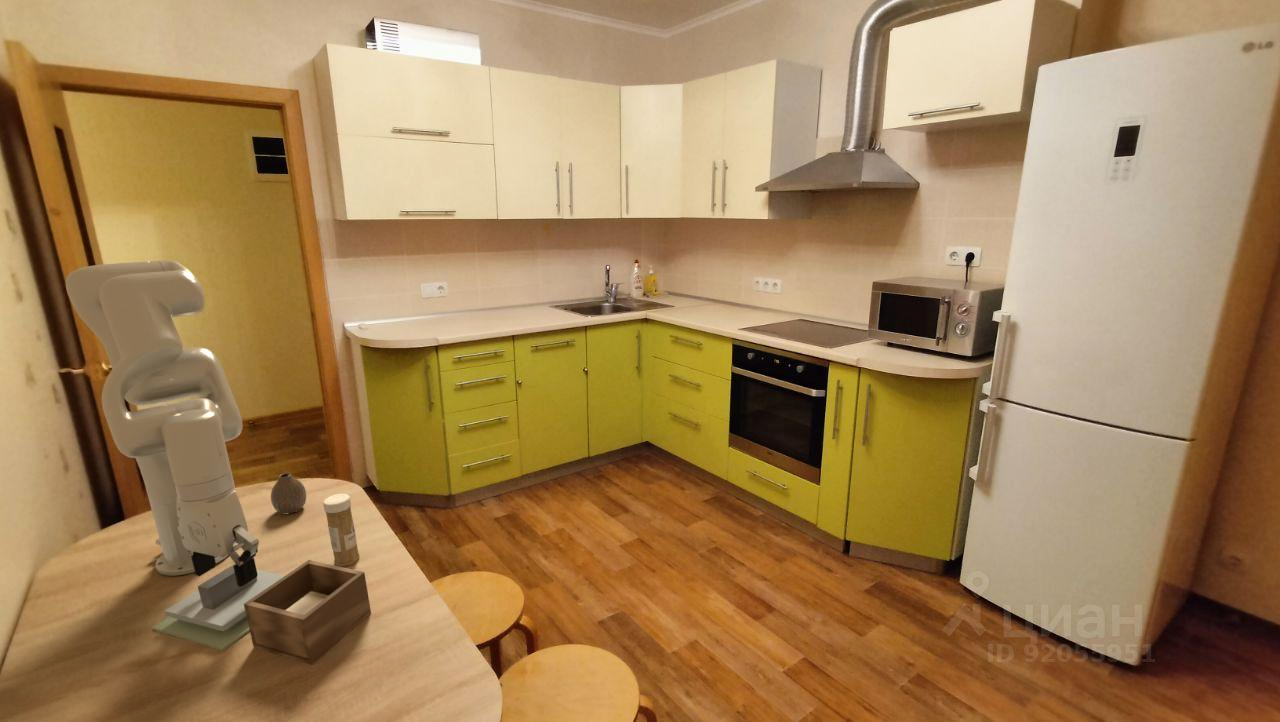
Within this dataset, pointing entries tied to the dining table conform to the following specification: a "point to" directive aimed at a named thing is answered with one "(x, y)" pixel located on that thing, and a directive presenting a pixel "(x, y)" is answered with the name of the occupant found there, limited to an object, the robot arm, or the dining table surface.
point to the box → (308, 611)
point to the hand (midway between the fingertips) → (227, 576)
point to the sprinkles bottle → (341, 529)
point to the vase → (288, 494)
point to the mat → (203, 632)
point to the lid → (221, 600)
